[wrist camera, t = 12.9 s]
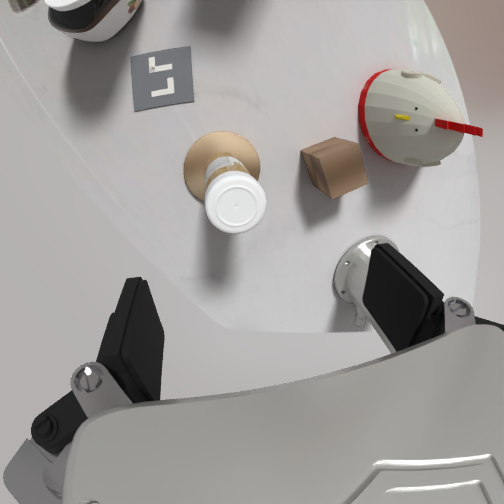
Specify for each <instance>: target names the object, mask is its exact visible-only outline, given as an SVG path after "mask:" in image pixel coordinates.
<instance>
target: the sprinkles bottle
mask: <svg viewBox="0 0 504 504" xmlns="http://www.w3.org/2000/svg"><path fill="white" fill-rule="evenodd" d="M205 185H206V193H205V210H206V214H207V217H208V219H209V220H210V222H211V223H212V224H213V225H214V226H215V227H216V228H217V229H219V230H221V231H223V232H226V233H231V234H239V233H243V232H246V231H249V230H251V229H252V228H254V227H255V226H256V225H257V224H258V223H259V222H260V221H261V219H262V218H263V216H264V214H265V211H266V205H267V201H266V196H265V193H264V190H263V189H262V187H261V186H260V184H259V183H258V182H257V180H256V179H255V178H254V177H252V176H251V175H250V174H249V172H248V171H247V169H246V168H245V167H244V165H243V164H242V162H241V161H240V159H239V158H238V157H237V156H236V155H234V154H232V153H228V152H221V153H217V154H215V155H213V156H212V157H211V158H210V159H209V160H208V161H207V164H206V166H205Z"/></svg>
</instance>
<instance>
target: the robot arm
mask: <svg viewBox="0 0 504 504" xmlns="http://www.w3.org/2000/svg"><path fill="white" fill-rule="evenodd" d="M334 283H335V288H336V290H337V292H338V294H339V295H340V296H341V298H342V299H344V300H345V301H347V302H349V303H354V304H355V305H356V311H357V314H356V317H355V321H354V324H355V325H356V326H359V327H361V326H363V325H364V324H365V320H366V317H367V318H368V320H369V321H370V323H371V324H372V326H373V327H374V329H375V330H376V331H377V333H378V334H379V336H380V337H381V339H382V340H383V342H384V343H385V345H386V346H387V348H388V349H389V351H390V352H391V354H389V355H387V356H384V357H381V358H378V359H375V360H372V361H368V362H365V363H362V364H359V365H356V366H352V367H349V368H346V369H342V370H338V371H335V372H331V373H327V374H324V375H319V376H315V377H312V378H307V379H303V380H298V381H294V382H289V383H284V384H280V385H275V386H269V387H264V388H259V389H253V390H247V391H240V392H233V393H226V394H218V395H210V396H202V397H193V398H182V399H169V400H160V391H161V375H162V360H163V348H164V330H163V327H162V324H161V322H160V319H159V316H158V313H157V310H156V307H155V304H154V301H153V298H152V295H151V292H150V289H149V286H148V283H147V281H146V280H142V278H141V277H135V278H127V279H126V282H125V284H124V287H123V290H122V293H121V295H120V298H119V301H118V304H117V307H116V310H115V313H112V314H111V316H110V318H109V321H108V324H107V327H106V330H105V334H104V337H103V340H102V343H101V347H100V350H99V353H98V357H97V360H96V362H89V363H85V364H83V365H81V366H80V367H79V368H77V369H76V371H75V372H74V373H73V375H72V377H71V388H72V391H70V392H69V393H68V394H66V395H65V396H64V397H62V398H61V399H60V400H58V401H57V402H55V403H54V404H53V405H51V406H50V407H49V408H47V409H46V410H45V411H44V412H42V413H41V414H39V415H38V416H37V417H36V418H35V420H34V421H33V423H32V427H31V435H32V438H31V440H29V439H26V440H25V442H24V443H23V444H22V446H21V447H20V448H19V450H18V451H17V453H16V454H15V455H14V457H13V458H12V460H11V461H10V462H9V464H8V466H7V467H6V468H5V471H4V476H3V479H4V483H5V485H6V487H7V489H8V490H9V491H10V493H11V494H12V495H13V496H14V498H15V499H16V500H17V501H18V502H19V504H504V325H502V324H498V323H495V322H492V321H489V320H485V319H482V318H479V317H475V316H474V311H473V308H472V306H471V305H470V304H469V303H468V302H467V301H465V300H463V299H461V298H458V297H450V298H448V299H447V300H446V301H445V303H444V302H443V301H442V299H443V296H444V294H443V293H442V292H441V291H440V290H439V289H438V288H437V287H436V286H435V285H434V284H433V283H432V282H431V281H430V280H429V279H428V278H427V277H426V276H425V275H424V274H423V273H421V272H420V271H419V270H418V269H417V268H416V267H415V266H414V265H413V264H412V263H411V262H409V261H408V260H407V259H406V258H405V257H404V256H403V255H402V254H400V253H399V250H398V248H397V246H396V245H395V244H394V243H393V242H392V241H391V240H390V239H388V238H386V237H382V236H372V237H368V238H365V239H363V240H361V241H359V242H358V243H356V244H355V245H353V246H352V247H351V248H350V249H349V250H348V251H347V252H346V253H345V255H344V256H343V257H342V259H341V260H340V262H339V264H338V266H337V269H336V272H335V278H334Z"/></svg>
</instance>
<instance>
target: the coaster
mask: <svg viewBox="0 0 504 504" xmlns="http://www.w3.org/2000/svg"><path fill="white" fill-rule="evenodd" d="M221 152H228V153H232V154H234V155H236V156H237V157H238V158H239V159H240V161H241V162H242V164H243V165H244V167H245V168H246V169H247V171H248V172H249V174H250V175H251V176H252V177H254V178H255V179H256V180H257V181H258V178H259V173H260V161H259V157H258V154H257V152H256V150H255V148H254V147H253V146H252V144H251V143H250V142H249V141H248V140H246V139H245V138H244V137H242V136H240V135H238V134H235V133H232V132H226V131H218V132H213V133H210V134H207V135H205V136H203V137H202V138H200V139H199V140H197V141H196V142H195V143H194V144H193V145H192V147H191V148H190V150H189V151H188V153H187V156H186V158H185V162H184V177H185V181H186V183H187V185H188V187H189V189H190V190H191V192H192V193H193V194H194V195H195V196H196V197H198V198H199V199H201V200H202V201H204V202H205V193H206V185H205V166H206V164H207V161H208V160H209V159H210V158H211V157H212V156H213V155H215V154H217V153H221Z"/></svg>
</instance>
